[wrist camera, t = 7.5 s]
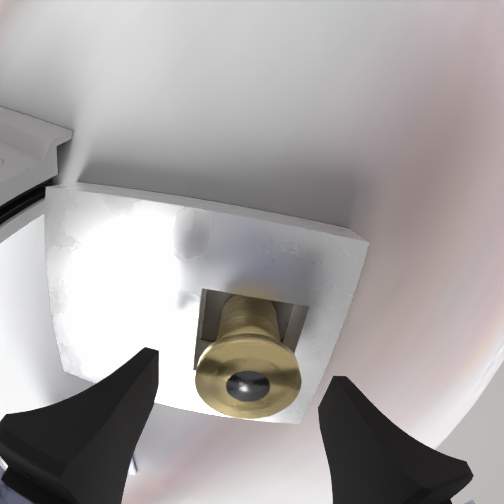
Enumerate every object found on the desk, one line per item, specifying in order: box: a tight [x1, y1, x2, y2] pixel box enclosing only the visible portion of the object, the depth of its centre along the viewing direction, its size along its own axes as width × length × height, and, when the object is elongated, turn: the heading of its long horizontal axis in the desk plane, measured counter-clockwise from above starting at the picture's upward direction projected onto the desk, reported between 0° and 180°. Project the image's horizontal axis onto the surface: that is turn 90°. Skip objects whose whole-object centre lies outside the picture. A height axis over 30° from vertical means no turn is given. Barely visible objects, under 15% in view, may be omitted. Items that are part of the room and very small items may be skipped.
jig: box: [45, 182, 370, 424], centre depth 15 cm, size 16×12×3 cm
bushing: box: [195, 295, 302, 419], centre depth 14 cm, size 4×4×6 cm
